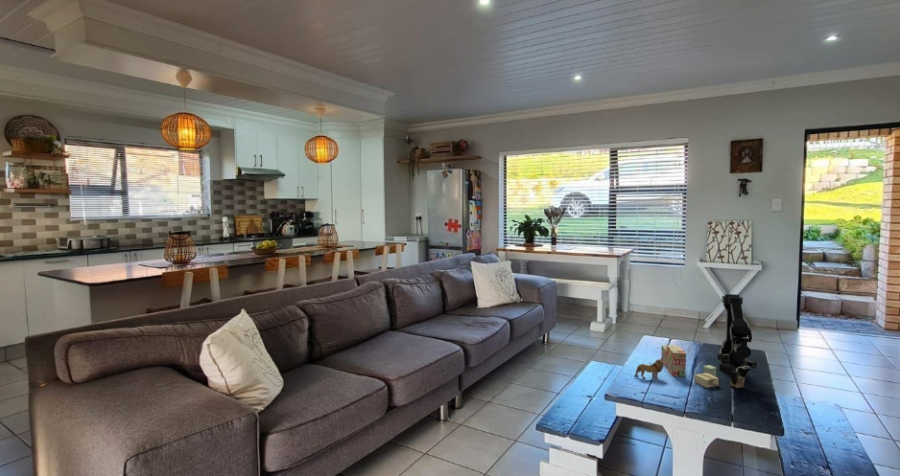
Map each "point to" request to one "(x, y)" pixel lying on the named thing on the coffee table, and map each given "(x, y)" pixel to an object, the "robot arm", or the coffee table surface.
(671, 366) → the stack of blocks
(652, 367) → the lion figurine
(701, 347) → the coffee table surface
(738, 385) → the walnut block
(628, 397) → the coffee table surface
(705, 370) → the sage block
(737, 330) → the robot arm
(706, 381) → the oak block
